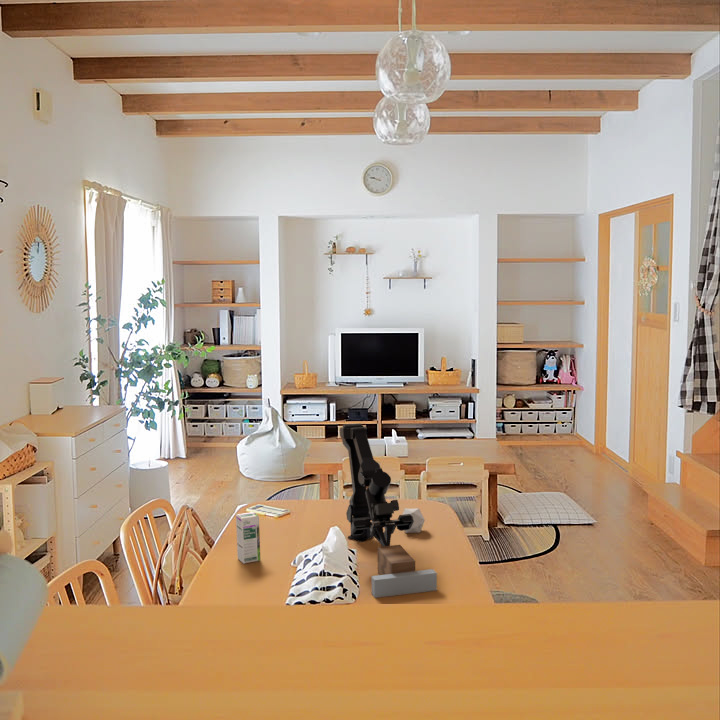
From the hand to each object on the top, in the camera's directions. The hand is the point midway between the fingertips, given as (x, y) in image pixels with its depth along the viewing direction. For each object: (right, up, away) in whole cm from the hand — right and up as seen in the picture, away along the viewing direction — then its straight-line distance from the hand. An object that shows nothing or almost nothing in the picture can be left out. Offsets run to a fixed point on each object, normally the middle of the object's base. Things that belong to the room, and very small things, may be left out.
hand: (387, 550), depth 228 cm
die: (+10, -3, +37) cm, 39 cm away
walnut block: (+2, -7, -6) cm, 10 cm away
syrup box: (-43, -6, +12) cm, 45 cm away
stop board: (+4, -8, -14) cm, 17 cm away
